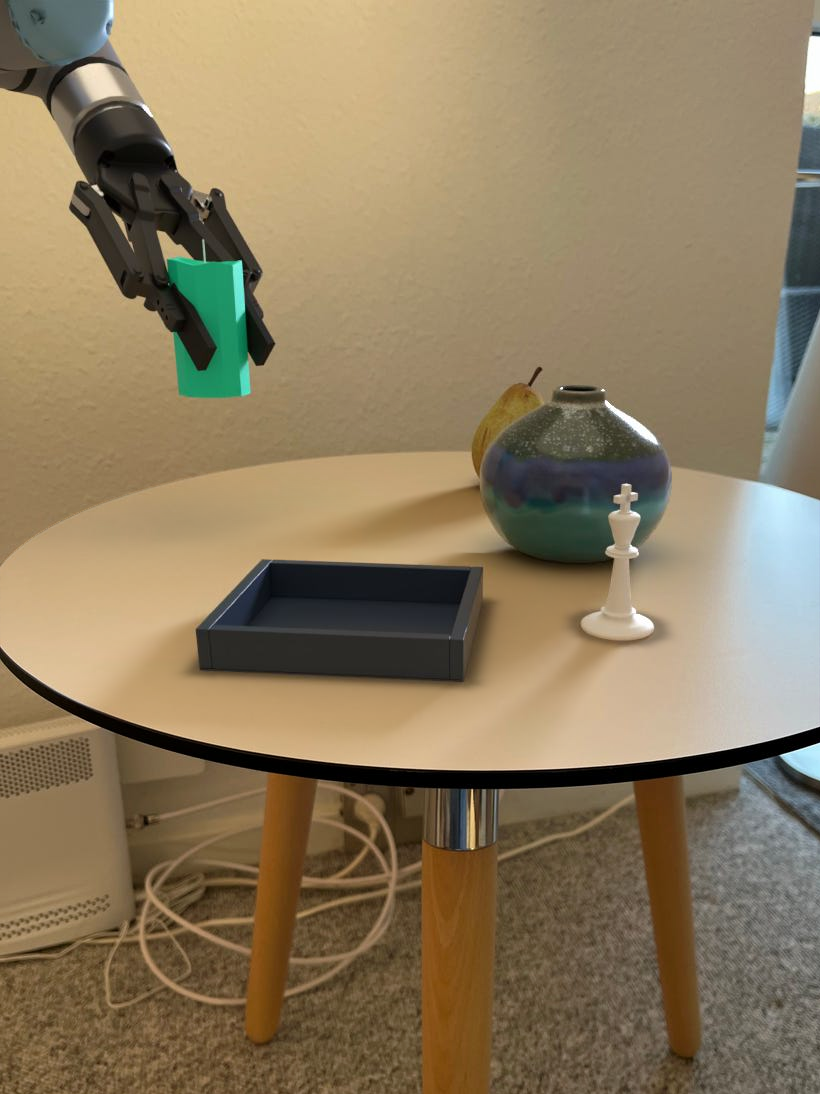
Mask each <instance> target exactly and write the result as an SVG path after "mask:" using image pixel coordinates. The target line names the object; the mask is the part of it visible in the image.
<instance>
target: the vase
mask: <svg viewBox="0 0 820 1094" xmlns="http://www.w3.org/2000/svg"><path fill="white" fill-rule="evenodd" d="M544 403H545V404H543V405H541V406H539V407H537V408H535V409H533V410H531V411H530V412H528V413H526V414H524V415H523V416H521V417H519V418H518V419H516V420H515V421H513V422H512V423H510V424H509V425H507V426H506V427H505V428H503V429H502V430H501V431H500V432H499V433H498V434H497V435H496V436H495V437H494V439H493V440H492V441H491V443H490V444H489V446H488V448H487V449H486V451H485V454H484V456H483V459H482V463H481V467H480V479H479V481H478V483H479V493H480V498H481V502H482V506H483V509H484V512H485V514H486V516H487V518H488V521H489V523H490V524H491V526H492V527H493V528H494V530H495V531H496V533H497V534H498V535H499V536H500V537H501V538H502V540H504V541H505V543H507V544H508V545H510V546H511V547H512V548H514V549H516V550H518V552H520V553H523V554H525V555H527V556H529V557H532V558H536V559H538V560H544V561H547V562H554V563H564V564H591V563H600V562H606V561H611V560H614V558H613V557H610V556H608V555H606V553H605V551H606V549H607V547H609V546H613V545H614V544H615V541H614V538H613V534H612V529H611V526H610V523H609V518H608V516H609V514H610V513H612V512H614V511H618V510H620V504H617V503H613V501H614V496H615V495H621V487H622V484H630V485H632V486H631V492H635V493H638V500H636V501H631V502H630V510H631V511H633V512H636V513H637V514H639V515H640V522H639V524H638V526H637V528H636V531H635V534H634V537H633V539H632V541H631V543H630V544H631V545H632V547H635V548H637V549H638V548H639V547H640V546H641V545H643V544H644V543H645V542H646V541H647V540H648V539H650V537H651V536H652V534H653V533H654V532H655V531H656V529H657V528H658V526H659V525H660V523H661V521H662V519H663V517H664V516H665V514H666V511H667V509H668V505H669V502H670V498H671V492H672V489H673V488H672V487H673V486H672V485H673V483H672V481H673V479H672V478H673V473H672V467H671V461H670V459H669V455H668V453H667V452H666V449H665V447H664V446H663V444H662V443H661V441H660V440H659V438H658V437H657V436H655V434H654V433H653V432H652V431H651V430H649V429H648V428H647V427H646V426H644V425H643V424H642V423H641V422H640V421H638V420H636V419H635V418H634V417H632V416H631V415H629V414H628V413H626V412H624V411H623V410H621V409H619V408H618V407H616V406H614V405H613V404H611V403H610V402H609V401H608V400H607V398H606V390H605V388H603V387H600V386H595V385H585V384H583V385H582V384H567V385H558V386H555V387H554V388H553V389H552V394H551V397H550V399H549V400H548V401H546V402H544Z"/></svg>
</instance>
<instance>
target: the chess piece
mask: <svg viewBox="0 0 820 1094" xmlns="http://www.w3.org/2000/svg"><path fill="white" fill-rule="evenodd" d="M631 486H632V485H630V484H622V487H621V495H615V496H614V501H613V503H617V504H620V510H618V511H614V512H612V513H610V514H609V516H608V518H609V523H610V526H611V529H612V534H613V538H614V541H615V544H614V545H613V546H609V547H607V549H606V551H605V553H606V555H608V556H610V557H613V558H614V559H613V565H612V571H611V578H610V583H609V588H608V591H607V592H608V593H607V598H606V601H605V605H603V606H602V607H601V608H600V611H595V612H591V613H589V614H587V615H586V616H584V617H583V618H582V620H580V627H581V629H582V630H583V632H585V633H587V634H588V635H590V636H592V637H595V638H599V639H602V640H603V639H604V640H610V641H621V642H622V641H623V642H624V641H626V642H627V641H636V640H641V639H645V638H647V637H649V636H650V635H652V634H653V633H654V631H655V624H654V623H653V622H652V620H651V619H650V618H648V617H646V616H644V615H642V614H639V613H637V609H635V608H634V607H633V606H632V596H631V595H632V594H631V579H630V559H634V558H637V557H638V556H640V553H639V549H638V547H637V548H635V547H632V545H631V544H630V543H631V541H632V539H633V537H634V534H635V531H636V528H637V526H638V524H639V522H640V515H639V514H637V513H636V512H633V511H631V510H630V502H631V501H636V500H638V493H635V492H631Z"/></svg>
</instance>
